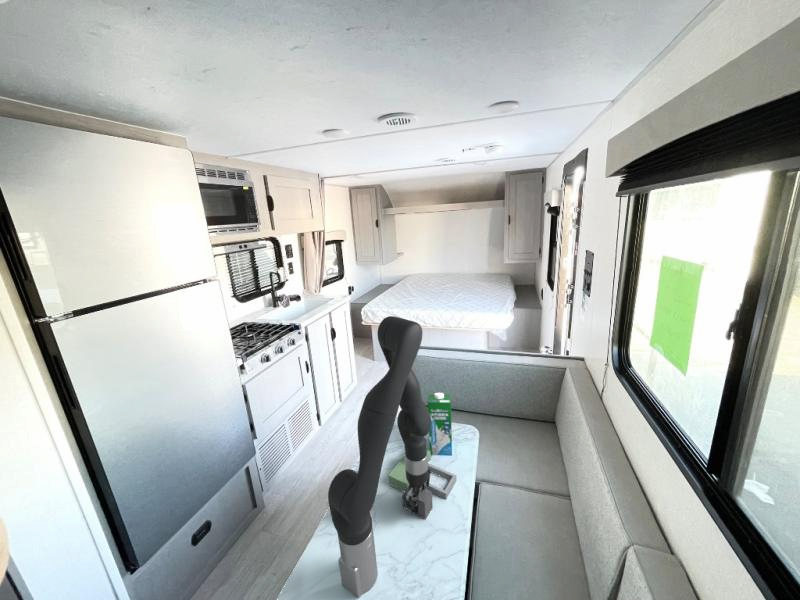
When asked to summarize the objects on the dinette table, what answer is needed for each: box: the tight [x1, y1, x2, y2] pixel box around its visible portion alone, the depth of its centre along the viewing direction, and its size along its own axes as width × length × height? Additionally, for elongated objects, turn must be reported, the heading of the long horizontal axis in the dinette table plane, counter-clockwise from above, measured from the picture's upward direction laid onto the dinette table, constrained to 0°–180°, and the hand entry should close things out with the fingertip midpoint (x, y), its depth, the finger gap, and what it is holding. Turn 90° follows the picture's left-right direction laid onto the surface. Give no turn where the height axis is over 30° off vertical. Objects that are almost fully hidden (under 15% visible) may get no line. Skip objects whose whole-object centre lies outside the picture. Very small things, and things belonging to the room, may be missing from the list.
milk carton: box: [427, 392, 453, 456], centre depth 129 cm, size 9×9×25 cm
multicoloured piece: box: [388, 449, 457, 500], centre depth 117 cm, size 18×21×8 cm
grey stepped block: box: [401, 486, 433, 520], centre depth 106 cm, size 9×5×7 cm, turn 56°
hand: (419, 505), depth 106 cm, fingers closed on grey stepped block, 4 cm apart
